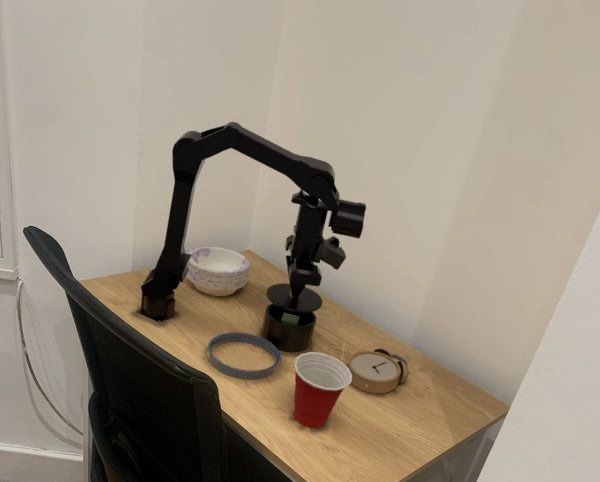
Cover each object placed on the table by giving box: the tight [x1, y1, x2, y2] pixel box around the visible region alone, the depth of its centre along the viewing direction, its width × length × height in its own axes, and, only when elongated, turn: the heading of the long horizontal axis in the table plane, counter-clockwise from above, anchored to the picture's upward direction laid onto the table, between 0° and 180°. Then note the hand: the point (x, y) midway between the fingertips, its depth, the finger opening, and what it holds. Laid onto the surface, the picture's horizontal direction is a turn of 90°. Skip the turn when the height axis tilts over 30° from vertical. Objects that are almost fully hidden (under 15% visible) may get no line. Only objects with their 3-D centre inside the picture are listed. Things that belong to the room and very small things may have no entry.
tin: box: [260, 302, 317, 354], centre depth 142 cm, size 11×11×7 cm
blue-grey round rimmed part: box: [206, 331, 282, 381], centre depth 133 cm, size 15×15×2 cm
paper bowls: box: [185, 246, 251, 297], centre depth 157 cm, size 15×15×8 cm
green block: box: [281, 313, 299, 326], centre depth 142 cm, size 4×4×6 cm
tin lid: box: [265, 282, 323, 313], centre depth 137 cm, size 12×12×5 cm
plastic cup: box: [293, 351, 352, 429], centre depth 118 cm, size 11×11×12 cm
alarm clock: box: [347, 347, 411, 394], centre depth 138 cm, size 11×5×15 cm
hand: (294, 296), depth 138 cm, fingers closed on tin lid, 2 cm apart
